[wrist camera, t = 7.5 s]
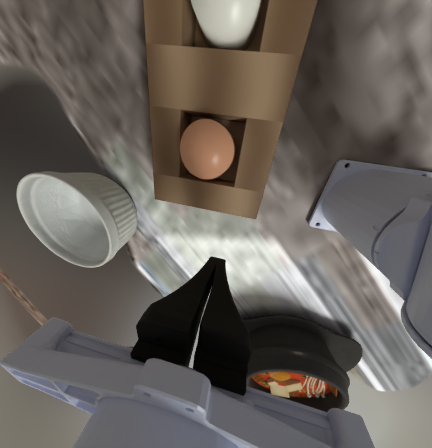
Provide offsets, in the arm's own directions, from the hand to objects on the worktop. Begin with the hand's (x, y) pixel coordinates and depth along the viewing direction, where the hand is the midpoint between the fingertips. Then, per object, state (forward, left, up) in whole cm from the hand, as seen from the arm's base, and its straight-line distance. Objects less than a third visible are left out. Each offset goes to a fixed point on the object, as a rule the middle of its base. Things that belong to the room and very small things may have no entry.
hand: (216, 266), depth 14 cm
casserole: (-15, +23, -10) cm, 29 cm away
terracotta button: (+3, -9, -8) cm, 12 cm away
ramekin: (+20, +2, -10) cm, 22 cm away
